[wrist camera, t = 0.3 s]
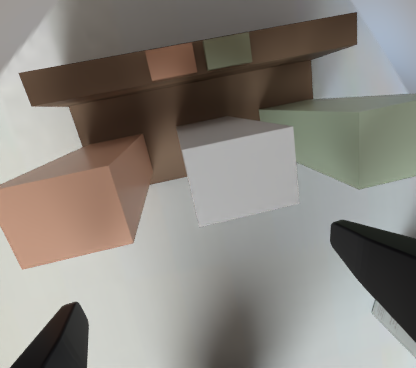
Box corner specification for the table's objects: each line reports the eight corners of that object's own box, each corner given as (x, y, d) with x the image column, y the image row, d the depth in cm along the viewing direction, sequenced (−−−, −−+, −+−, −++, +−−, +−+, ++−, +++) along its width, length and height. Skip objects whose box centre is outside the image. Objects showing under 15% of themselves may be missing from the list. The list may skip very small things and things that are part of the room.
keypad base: (309, 146, 22) (361, 161, 16) (102, 191, 21) (74, 226, 15) (302, 38, 20) (362, 7, 13) (65, 82, 18) (13, 69, 12)
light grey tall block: (233, 154, 20) (299, 203, 10) (184, 164, 20) (199, 227, 10) (227, 116, 19) (293, 126, 9) (175, 126, 19) (181, 149, 9)
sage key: (310, 137, 21) (449, 167, 10) (263, 147, 20) (359, 189, 10) (307, 99, 20) (458, 91, 9) (258, 109, 20) (359, 112, 9)
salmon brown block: (153, 171, 20) (133, 243, 9) (101, 182, 20) (22, 269, 9) (142, 133, 19) (108, 165, 8) (88, 144, 19) (-17, 192, 8)
